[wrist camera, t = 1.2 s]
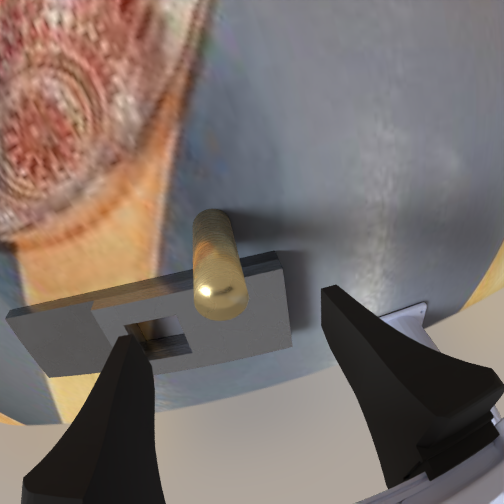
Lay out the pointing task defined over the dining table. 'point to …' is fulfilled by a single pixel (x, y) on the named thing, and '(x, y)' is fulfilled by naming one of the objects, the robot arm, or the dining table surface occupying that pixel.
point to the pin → (217, 268)
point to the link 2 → (202, 329)
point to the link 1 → (79, 330)
